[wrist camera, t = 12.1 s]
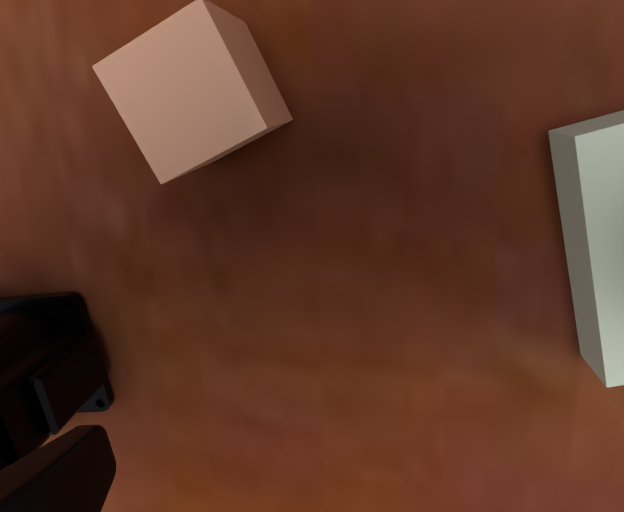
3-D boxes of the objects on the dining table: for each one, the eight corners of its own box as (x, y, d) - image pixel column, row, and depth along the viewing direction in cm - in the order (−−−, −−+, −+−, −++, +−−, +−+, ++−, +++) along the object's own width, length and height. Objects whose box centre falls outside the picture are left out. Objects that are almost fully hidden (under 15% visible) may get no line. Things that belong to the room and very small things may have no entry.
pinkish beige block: (210, 163, 20) (160, 184, 15) (161, 73, 19) (91, 66, 14) (293, 119, 19) (267, 128, 14) (245, 22, 18) (200, -4, 13)
